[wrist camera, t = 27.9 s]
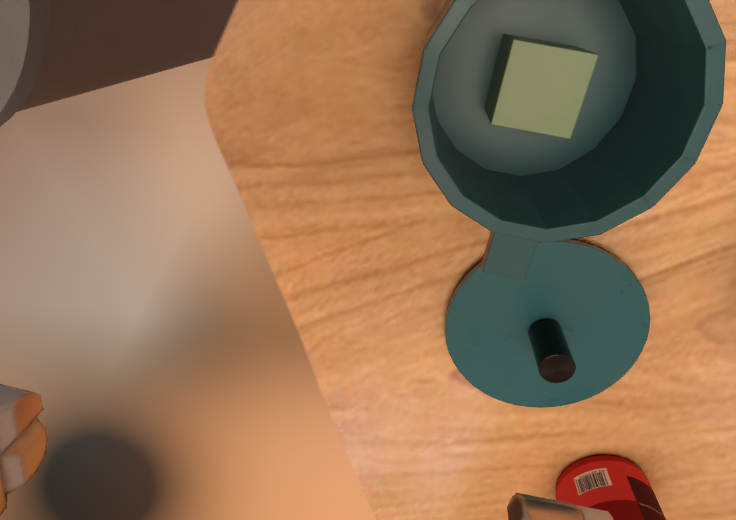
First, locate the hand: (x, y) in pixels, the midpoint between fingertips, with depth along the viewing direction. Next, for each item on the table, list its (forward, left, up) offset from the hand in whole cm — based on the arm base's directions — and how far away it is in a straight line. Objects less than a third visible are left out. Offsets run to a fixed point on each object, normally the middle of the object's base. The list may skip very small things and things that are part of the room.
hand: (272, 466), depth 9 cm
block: (+8, +4, -29) cm, 30 cm away
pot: (+8, +4, -29) cm, 30 cm away
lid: (+14, -13, -28) cm, 34 cm away
